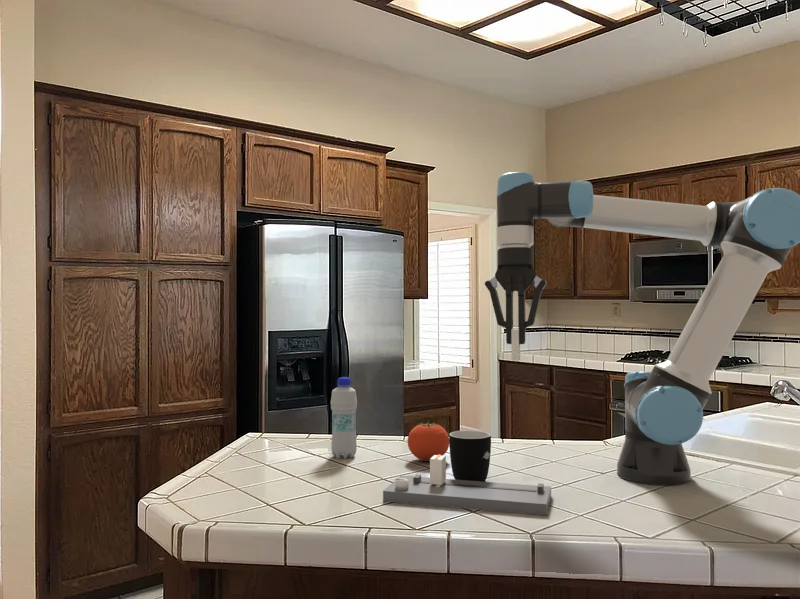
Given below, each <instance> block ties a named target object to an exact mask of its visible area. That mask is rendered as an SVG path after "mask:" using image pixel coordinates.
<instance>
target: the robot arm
mask: <svg viewBox="0 0 800 599" xmlns="http://www.w3.org/2000/svg"><path fill="white" fill-rule="evenodd" d="M496 193H497V194H496V206H497V207H496V209H497V210H496V212H497V214H496V216H497V218H496V220H497V222H496V224H497V229H496V232H497V234H496V235H497V236H496V240H497V242H496V243H497V246H498V247H499V248H498V250H497V251H496V252H497V253H496V254H497V256H496V258H497V260H496V261H497V269H496V272H495V274H494V276H493V277H492V278H491V279H489V280H486V281H485V282H484V286H485V288H487V290H488V292H489V294H490V299H491V303H492V307H493V311H494V315H495V318H496V323H497V325H498V326H500V327H503V328H505V330H506V331H505V334H506V336H505V338H506V339H505V341H506V342H505V343H506V344H507V345H511V361H520V360H521V345H525V343H526V329H527V328H529V327H531V326H533V325H535V321H536V317H537V313H538V309H539V303H540V300H541V297H542V292H543V291H544V289H545V287H546V286H547V281H546V280H544V279H542V278H541V277H539V276H537V272H536V270H535V266H534V265H535V262H534V259H535V258H534V257H535V256H534V255H535V254H534V253H535V252H534V251H535V250H534V249H533V248H532V246H533V245H534V244H535V243H534V239H535V238H534V231H535V230H534V220H535V219H537V220H538V219H539V220H541V219H544V220H545V219H546V220H547V221H548V222H549V224H550V225H552V226H554V227H556V228H567V227H572V228H585V229H593V230H603V231H612V232H620V233H629V234H637V235H647V236H655V237H664V238H671V239H673V238H675V239H681V240H691V241H699V242H701V244H702V245H703V246H704V247H709V248H710V247H712V248H719V249H721V250H722V252H723V256H722V258H721V260H720V261H719V263H718V265H717V267H716V269H715V271H714V272H713V274H712V275H711V278H710V280H709V281H708V283H707V285H706V286H705V289H704V291H703V293H702V294H701V297H700V298H699V300H698V301H697V304H696V305H695V307H694V309H693V311H692V312H691V315H690V317H689V318H688V320H687V322H686V324H685V326H684V327H683V330H682V332H681V333H680V335H679V337H678V339H677V341H676V342H675V344H674V346H673V348H672V349H671V351H670V353H669V355H668V358H666V360H665V361H663V362H659V363H656V364H654V367H653V368H652V370H651V371H631V372H630V371H629V372H627V373H626V374H625V377H624V378H625V379H624V384H623V387H624V419H625V420H624V422H625V423H624V430H625V431H624V442H623V446H622V448H621V451H620V454H619V457H618V459H617V464H616V466H617V467H616V468H617V469H616V474H617V475H618V477H620V478H623V479H625V480H627V481H631V482H635V483H641V484H647V485H655V486H658V485H659V486H673V485H674V486H675V485H681V484H686V483H688V482H690V481H691V477H692V476H691V475H692V474H691V467H690V464H689V461H688V458H687V456H686V455H687V454H686V453H685V450H684V446H683V444H684V443H686V442H688V441H690V440H691V439H693V438H694V437H695V436H696V435H697V434H698V433H699V431H700V430H701V428H702V425H703V419H704V410H703V409H704V408H705V406H706V404H707V402H708V401H709V399H710V397H711V396H712V389H711V386H710V379H711V377H712V376H713V374H714V372H715V370H716V369H717V366H718V365H719V363H720V361H721V359H722V358H723V356H724V353H725V352H726V350H727V349H728V347H729V346H730V343H731V341H732V339H733V338H734V336H735V334H736V332H737V330H738V328H739V327H740V325H741V323H742V321H743V319H744V318H745V317H746V316H745V315H746V314H747V313H748V310H749V309H750V307H751V305H752V303H753V301H754V299H755V297H756V295H757V294H758V292H759V290H760V288H761V287H762V285H763V283H764V281H765V279H766V277H767V275H768V274H770V273H772V272H774V271H777V270H780V269H781V268H782V266H783V264H784V263H785V261H786V260H787V257H788V256H789V254H790V253H791V250H792V249H793V247H795V246H797V245H798V244H800V194H799V193H797V192H795V191H794V190H791V189H788V188H783V187H773V188H765V189H761V190H759V191H757V192H755V193H754V194H752V195H751V196H749V197H747V198H746V199H742V200H739V201H733V202H718V201H711V202H710V203H708V204H706V205H700V204H692V203H691V204H690V203H679V202H670V201H669V202H668V201H661V200H648V199H640V198H630V197H620V196H619V197H617V196H610V195H609V196H608V195H607V196H606V195H600V194H594V188H593V184H592V182H590V181H585V180H584V181H583V180H582V181H581V180H580V181H578V180H577V179H576V180H572V181H571V180H569V181H555V182H554V181H550V182H538V181H537V182H536V181H535V180H534V175H533V174H531V173H529V172H527V171H525V172H521V171H516V172H515V171H514V172H513V171H512V172H506V173H503V174H501V175H500V176H499V177H498V178H497V190H496ZM533 282H534V284H533V285H534V287H535V290H534V293H533V298H532V300H531V305H530V310H529V313H528V318H527V320H526V291H527V290H528V289H529V288H530V286H531V285H532V283H533ZM498 283H499V285H500V286H501V287H502V289H503V290H504V291H505V318H504V314H503V310H502V306H501V303H500V302H501V301H500V299H499V298H500V297H499V293H498V291H497V287H498ZM514 292H517V298H518V299H517V302H518V305H517V306H518V307H517V308H518V312H517V313H518V314H517V315H518V319H517V320H518V321H517V322H518V326H517V327H518V328H514Z"/></svg>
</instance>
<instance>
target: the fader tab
mask: <svg viewBox="0 0 800 599" xmlns="http://www.w3.org/2000/svg"><path fill="white" fill-rule="evenodd" d="M446 459H447V456H446V455H443V456H442V455H441V454H439V455H434V456H433V457H432V458H430V461H429V478H430V484H436V485H442V484H443V483H444V482H445V481H446V479H447V470H446V469H447V460H446Z"/></svg>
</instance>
